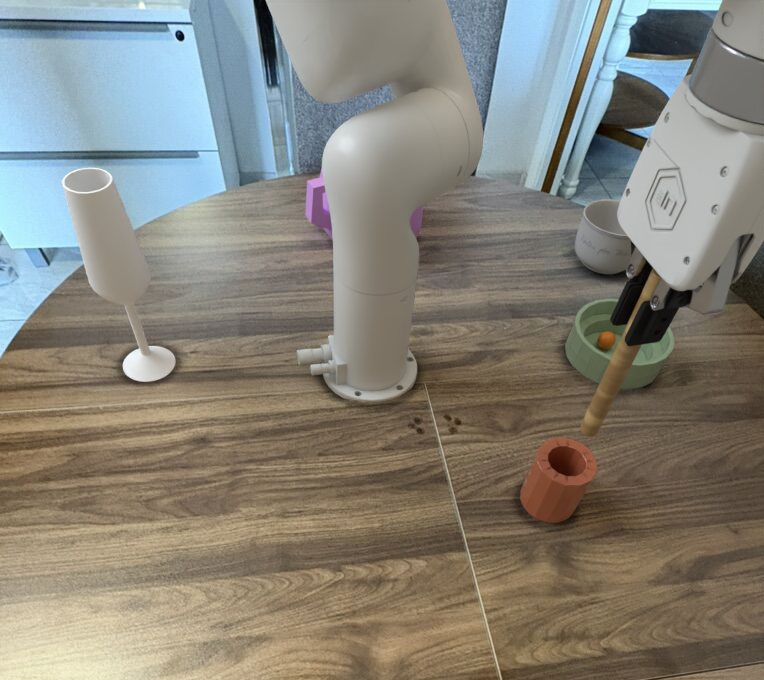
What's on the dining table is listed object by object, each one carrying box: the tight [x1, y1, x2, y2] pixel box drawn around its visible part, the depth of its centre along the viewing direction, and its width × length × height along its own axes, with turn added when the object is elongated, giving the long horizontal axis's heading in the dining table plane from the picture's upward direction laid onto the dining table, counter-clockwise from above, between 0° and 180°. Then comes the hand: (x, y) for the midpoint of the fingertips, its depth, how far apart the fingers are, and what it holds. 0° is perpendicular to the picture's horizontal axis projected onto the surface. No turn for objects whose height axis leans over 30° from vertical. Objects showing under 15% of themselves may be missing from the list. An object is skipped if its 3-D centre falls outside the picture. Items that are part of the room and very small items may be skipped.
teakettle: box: [304, 167, 424, 242], centre depth 95 cm, size 17×17×12 cm
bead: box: [597, 331, 616, 349], centre depth 86 cm, size 2×2×2 cm
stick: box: [579, 268, 661, 438], centre depth 54 cm, size 2×2×18 cm
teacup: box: [574, 198, 631, 275], centre depth 95 cm, size 14×11×8 cm
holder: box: [519, 437, 598, 524], centre depth 68 cm, size 6×6×8 cm
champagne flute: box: [61, 167, 176, 383], centre depth 70 cm, size 7×7×24 cm
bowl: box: [564, 297, 676, 390], centre depth 84 cm, size 13×13×5 cm
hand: (634, 330), depth 51 cm, fingers closed on stick, 1 cm apart
